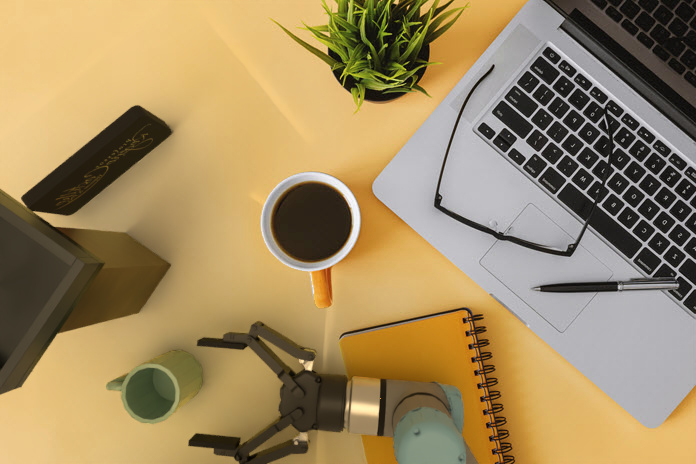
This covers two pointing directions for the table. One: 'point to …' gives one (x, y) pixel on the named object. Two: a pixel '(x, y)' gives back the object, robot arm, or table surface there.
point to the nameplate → (98, 163)
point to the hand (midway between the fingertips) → (195, 390)
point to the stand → (115, 277)
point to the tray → (35, 287)
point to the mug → (159, 386)
